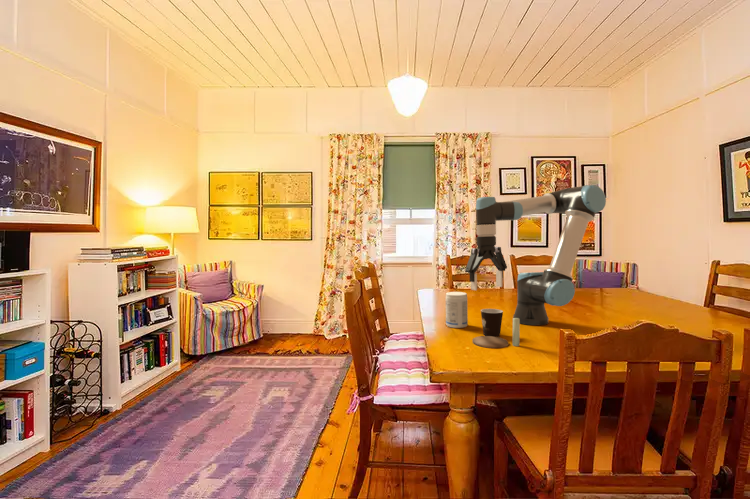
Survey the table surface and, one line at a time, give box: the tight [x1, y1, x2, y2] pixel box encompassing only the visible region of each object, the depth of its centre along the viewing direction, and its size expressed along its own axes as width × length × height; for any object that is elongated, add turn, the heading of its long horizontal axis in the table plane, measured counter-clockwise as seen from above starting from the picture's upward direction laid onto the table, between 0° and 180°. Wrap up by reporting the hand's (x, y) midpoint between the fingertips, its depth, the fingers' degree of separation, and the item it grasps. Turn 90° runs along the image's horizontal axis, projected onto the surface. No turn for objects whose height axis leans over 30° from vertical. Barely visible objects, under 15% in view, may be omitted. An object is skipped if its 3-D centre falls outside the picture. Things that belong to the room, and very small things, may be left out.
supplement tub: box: [445, 291, 469, 329], centre depth 172 cm, size 10×10×15 cm
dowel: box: [512, 317, 521, 347], centre depth 143 cm, size 2×2×10 cm
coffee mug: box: [480, 308, 504, 338], centre depth 158 cm, size 12×9×10 cm
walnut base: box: [472, 335, 509, 349], centre depth 146 cm, size 13×13×1 cm
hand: (486, 288), depth 156 cm, fingers open, 13 cm apart
